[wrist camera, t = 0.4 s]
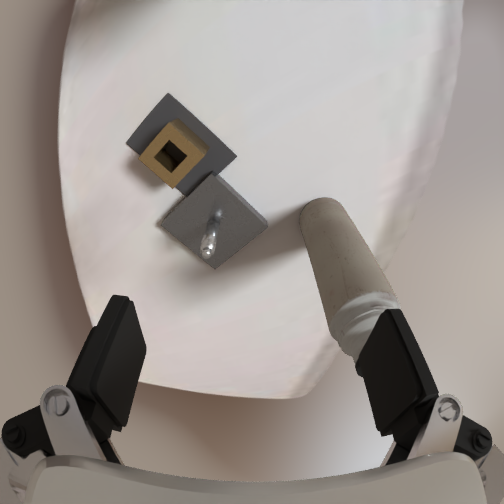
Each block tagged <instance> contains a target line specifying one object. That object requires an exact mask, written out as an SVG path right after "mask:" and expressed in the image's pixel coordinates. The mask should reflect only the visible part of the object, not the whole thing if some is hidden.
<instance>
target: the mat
mask: <svg viewBox="0 0 504 504" xmlns="http://www.w3.org/2000/svg"><path fill="white" fill-rule="evenodd" d="M177 118H179V119H180V120H181V121H182V122H183V123H184V124H185V125H186V126H187V127H189V128H190V129H191V130H192V131H193V132H194V133H195V134H196V135H197V136H198V137H200V138H201V139H202V140H203V141H204V142H205V143H206V144H207V145H208V146H209V147H210V148H209V150H208V151H207V153H206V155H205V156H204V157H203V158H202V159H201V160H200V161H199V162H198V163H197V164H196V165H195V166H194V167H193V168H192V169H191V170H190V171H189V172H188V173H187V174H186V175H185V176H184V178H183V179H182V180H181V181H180V182H179V183H178V184H177V185H176V187H177V188H178V189H179V190H180V191H181V192H182V193H183V194H185V195H186V196H187V195H188V194H189V193H190V192H191V191H192V190H193V189H194V188H195V187H196V186H197V185H198V184H199V183H200V182H201V181H202V180H203V179H204V178H205V177H206V176H207V175H208V174H209V173H210V172H212V171H214V172H215V173H216V174H217V175H218V174H219V173H220V172H221V171H222V170H223V169H224V168H225V167H226V166H227V165H229V164H230V163H231V162H232V161H233V160H234V159H235V158H236V157H237V156H236V155H235V154H234V153H233V152H232V151H231V150H230V149H229V148H228V147H227V146H226V145H225V144H224V143H223V142H222V141H221V140H220V139H219V138H218V137H217V136H215V135H214V134H213V133H212V132H211V131H210V130H209V129H208V128H207V127H206V126H205V125H204V124H203V123H202V122H200V121H199V120H198V119H197V118H196V117H195V116H194V115H193V114H192V113H191V112H189V111H188V110H187V109H186V108H185V107H184V106H183V105H182V104H181V103H179V102H178V101H177V100H176V99H175V98H174V97H173V96H171V95H170V94H169V93H168V94H167V95H166V96H165V97H164V98H163V99H162V100H161V101H160V102H159V103H158V105H157V106H156V107H155V108H154V109H153V110H152V112H151V113H150V114H149V115H148V116H147V117H146V119H145V120H144V121H143V122H142V123H141V125H140V126H139V127H138V128H137V130H136V131H135V132H134V133H133V135H132V136H131V137H130V139H129V140H128V141H127V142H126V143H127V144H128V145H129V146H130V147H131V148H133V149H134V150H135V151H136V152H137V153H138V154H139V155H140V156H141V154H142V153H143V152H144V151H145V149H146V148H147V147H148V146H149V145H150V143H151V142H152V141H153V140H154V139H155V137H156V136H157V135H158V134H159V133H160V132H161V131H162V129H163V128H164V127H165V126H166V125H167V124H168V123H169V122H171V121H173V120H175V119H177ZM164 149H165V150H166V151H167V152H168V153H169V154H170V155H172V156H173V157H174V158H175V159H176V160H177V161H178V162H179V163H180V162H181V161H182V160H183V159H184V158H185V157H186V156H187V155H186V154H185V153H184V152H182V151H181V150H180V149H179V148H178V147H177V146H176V145H175V144H174V143H172V142H170V143H169V144H168V145H167V146H166V147H165V148H164Z"/></svg>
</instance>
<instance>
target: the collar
mask: <svg viewBox="0 0 504 504" xmlns="http://www.w3.org/2000/svg"><path fill="white" fill-rule="evenodd" d="M170 142H172V143H174V144H175V145H176V146H177V147H178V148H179V149H180V150H181V151H182V152H184V153H185V154H186V155H187V156H186V157H185V158H184V159H183V160H182V161H181V162H180V163H179V162H178V161H177V160H176V159H175V158H174V157H173V156H172V155H170V154H169V153H168V152H167V151H166V150H165V149H164V148H165V147H166V146H167V145H168V144H169V143H170ZM209 148H210V147H209V146H208V145H207V144H206V143H205V142H204V141H203V140H202V139H201V138H200V137H198V136H197V135H196V134H195V133H194V132H193V131H192V130H191V129H190V128H189V127H187V126H186V125H185V124H184V123H183V122H182V121H181V120H180V119H179V118H177V119H175V120H173V121H171V122H169V123H168V124H167V125H166V126H165V127H164V128H163V129H162V131H161V132H160V133H159V134H158V135H157V136H156V137H155V139H154V140H153V141H152V142H151V143H150V145H149V146H148V147H147V148H146V149H145V151H144V152H143V153H142V154H141V156H140V157H139V158H138V159H139V160H140V161H141V162H143V163H144V164H145V165H146V166H147V167H148V168H149V169H150V170H152V171H153V172H154V173H155V174H156V175H157V176H158V177H160V178H161V179H162V180H163V181H164V182H165V183H166V184H167V185H169V186H170V187H171V188H172V189H173V188H174V187H175V186H176V185H177V184H178V183H179V182H180V181H181V180H182V179H183V178H184V176H185V175H186V174H187V173H188V172H189V171H190V170H191V169H192V168H193V167H194V166H195V165H196V164H197V163H198V162H199V161H200V160H201V159H202V158H203V157H204V156H205V155H206V153H207V151H208V150H209Z"/></svg>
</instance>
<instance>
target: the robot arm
mask: <svg viewBox="0 0 504 504" xmlns="http://www.w3.org/2000/svg"><path fill="white" fill-rule="evenodd" d="M145 355H146V344H145V341H144V337H143V334H142V331H141V327H140V324H139V321H138V317H137V313H136V310H135V306H134V303H133V301H130V300H129V297H128V296H120V295H113V296H112V297H111V299H110V300H109V302H108V304H107V306H106V308H105V310H104V312H103V314H102V316H101V318H100V320H99V322H98V324H97V326H94V327H93V328H92V330H91V331H90V333H89V335H88V337H87V339H86V341H85V343H84V346H83V348H82V350H81V352H80V355H79V356H78V359H77V361H76V363H75V366H74V368H73V370H72V373H71V375H70V377H69V380H68V382H67V385H66V387H65V386H63V385H54V386H51V387H49V388H47V389H46V390H45V392H44V393H43V394H42V396H41V400H40V405H39V406H37V407H35V408H33V409H31V410H28V411H26V412H24V413H22V414H20V415H18V416H15V417H13V418H11V419H9V420H8V421H6V423H5V424H4V426H3V428H2V437H1V438H0V504H500V502H501V500H502V499H503V497H504V454H503V453H502V452H501V451H500V450H499V449H498V448H497V447H496V445H495V444H494V445H493V446H492V437H491V434H490V432H489V431H488V430H487V429H486V428H485V427H483V426H481V425H479V424H477V423H476V422H474V421H472V420H471V419H469V418H467V417H465V416H463V408H462V405H461V403H460V401H459V400H458V399H457V398H456V397H454V396H453V395H450V394H443V395H441V396H440V397H439V395H438V393H439V392H438V389H437V387H436V384H435V382H434V379H433V377H432V375H431V372H430V370H429V368H428V365H427V363H426V361H425V358H424V357H423V354H422V352H421V350H420V348H419V345H418V343H417V341H416V339H415V337H414V335H413V333H412V331H411V329H410V327H409V325H408V323H407V321H406V319H405V317H404V315H403V313H402V311H401V310H400V309H386V310H385V311H384V312H383V313H381V314H380V316H379V318H378V320H377V322H376V324H375V326H374V328H373V330H372V332H371V334H370V335H369V337H368V339H367V341H366V343H365V345H364V347H363V348H362V350H361V352H360V354H359V365H360V368H361V372H362V375H363V378H364V382H365V386H366V389H367V393H368V397H369V401H370V404H371V408H372V412H373V416H374V420H375V424H376V428H377V430H378V431H380V433H381V436H387V435H391V434H393V438H394V441H393V443H392V445H391V447H390V449H389V451H388V453H387V455H386V456H385V458H384V460H383V462H382V464H381V466H380V467H378V468H374V469H369V470H365V471H360V472H355V473H349V474H344V475H338V476H331V477H324V478H316V479H307V480H294V481H276V482H236V481H217V480H206V479H196V478H188V477H180V476H174V475H168V474H162V473H156V472H151V471H146V470H141V469H137V468H132V467H128V466H125V465H124V463H123V462H122V460H121V458H120V456H119V455H118V453H117V451H116V449H115V448H114V446H113V444H112V442H111V440H110V436H111V432H112V430H115V431H119V432H121V430H122V426H123V427H125V426H126V424H127V422H128V418H129V414H130V410H131V406H132V402H133V398H134V394H135V390H136V387H137V383H138V380H139V376H140V372H141V369H142V366H143V362H144V359H145Z"/></svg>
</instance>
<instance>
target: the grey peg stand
mask: <svg viewBox="0 0 504 504" xmlns="http://www.w3.org/2000/svg"><path fill="white" fill-rule="evenodd" d="M161 226H163V227H164V228H165V229H166V230H167V231H169V232H170V233H171V234H172V235H173V236H175V237H176V238H177V239H178V240H179V241H181V242H182V243H183V244H184V245H186V246H187V247H188V248H189V249H190V250H192V251H193V252H194V253H195V254H197V255H198V256H199V257H200V258H202V259H203V260H204V261H205V262H207V263H208V264H209V265H210V266H212V267H213V268H214V269H216V268H217V267H219V266H220V265H221V264H222V263H224V262H225V261H226V260H227V259H229V258H230V257H231V256H232V255H234V254H235V253H236V252H237V251H239V250H240V249H241V248H242V247H243V246H245V245H246V244H247V243H248V242H250V241H251V240H252V239H253V238H255V237H256V236H257V235H258V234H260V233H261V232H262V231H263V230H265V229H266V228H267V227H268V225H267V221H266V220H265V219H264V218H263V217H262V216H261V215H260V214H259V213H258V212H257V211H256V210H255V209H254V208H253V207H252V206H251V205H250V204H249V203H248V202H247V201H246V200H245V199H244V198H243V197H242V196H241V195H240V194H238V193H237V192H236V191H235V190H234V189H233V188H232V187H231V186H230V185H229V184H228V183H227V182H226V181H225V180H224V179H223V178H222V177H220V176H219V175H217V174H216V173H215V172H214V171H212V172H210V173H209V174H208V175H207V176H206V177H205V178H204V179H203V180H202V181H201V182H200V183H199V184H198V185H197V186H196V187H195V188H194V189H193V190H192V191H191V192H190V193H189V194H188V195H187V196H186V197H185V198H184V199H183V200H182V201H181V202H180V203H179V204H178V205H177V206H176V207H175V208H174V209H173V211H172V212H171V213H170V214H169V215H168V216H167V217H166V218H165V219H164V221H163V222H162V224H161Z"/></svg>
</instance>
